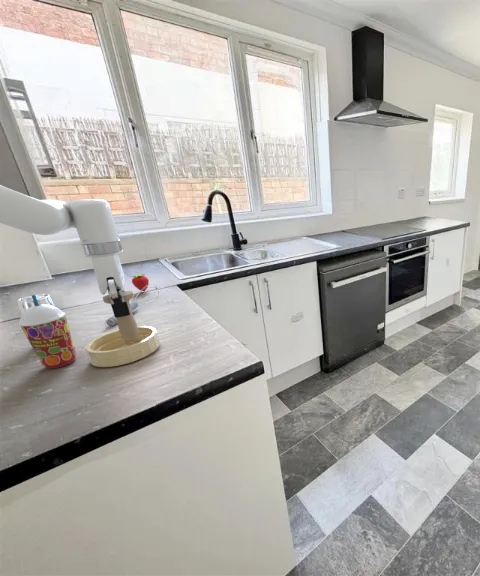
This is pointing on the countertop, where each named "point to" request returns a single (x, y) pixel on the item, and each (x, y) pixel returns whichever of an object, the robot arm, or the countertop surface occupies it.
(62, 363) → the smoothie
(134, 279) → the strawberry
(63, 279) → the countertop surface
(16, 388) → the countertop surface
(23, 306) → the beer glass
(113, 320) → the kitchen whisk
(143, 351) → the bowl
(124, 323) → the handle
